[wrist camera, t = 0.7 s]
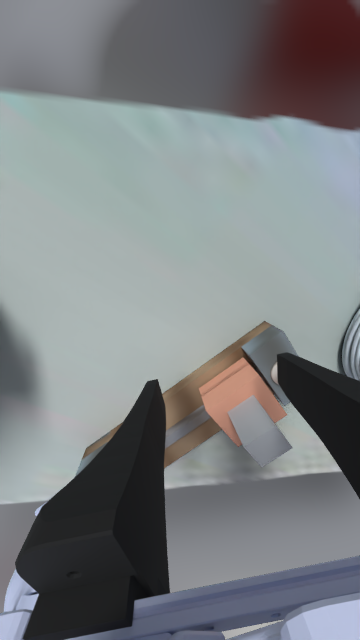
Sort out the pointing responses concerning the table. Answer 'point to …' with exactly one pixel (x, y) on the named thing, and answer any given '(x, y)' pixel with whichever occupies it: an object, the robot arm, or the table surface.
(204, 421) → the rail
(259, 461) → the carriage
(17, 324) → the table surface
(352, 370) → the cable
